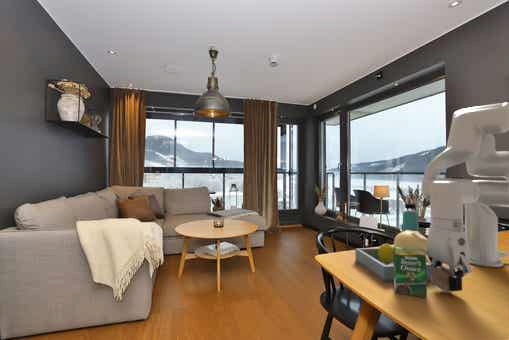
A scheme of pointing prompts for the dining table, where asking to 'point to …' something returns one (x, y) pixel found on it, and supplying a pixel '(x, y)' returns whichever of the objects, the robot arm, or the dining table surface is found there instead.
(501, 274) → the dining table surface
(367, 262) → the tote
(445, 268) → the walnut cube
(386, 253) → the lemon
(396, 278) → the coffee box
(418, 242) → the sculpture
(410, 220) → the beverage bottle
